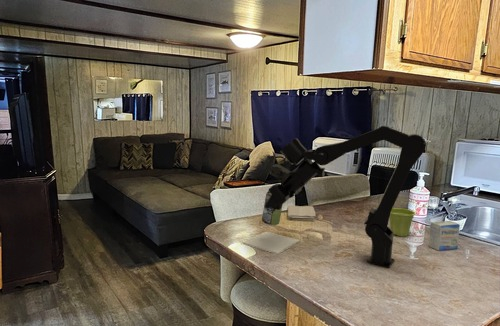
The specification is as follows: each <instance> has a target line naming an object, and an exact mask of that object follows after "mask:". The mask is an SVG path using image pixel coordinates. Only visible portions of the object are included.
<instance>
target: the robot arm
mask: <svg viewBox="0 0 500 326" xmlns="http://www.w3.org/2000/svg"><path fill="white" fill-rule="evenodd" d="M381 141H385V142H388V143H390V144H393V145H395V146H397V147H399V148H400V152H399V157H398V161H397V164H396V167H395V168H394V171H393V173H392V176H391V177H390V180H389V182H388V184H387V186H386V188H385V191H384V193H383V195H382V198H381V199H380V202H379V204H378V205H377V207H376V208H374V207H370V208H369V212H368V215H367V216H365V220H364V221H363V222H364V224H363V225H365V227H364V231H365V233H366V235H367V236H368V237H369V238H370V239H371V248H370V249H371V251H370V257H368V259H366V262H367V263H369V264H373V265H377V266H381V267H384V268H391V266H392V265H393V263H394V262H395V261H396V260H395V258H392V255H393V243H394V235H393V232H392V231H391V228H390V227H389V226H388V225H389V222H390V213H391V210H392V208H394V207H395V204H396V202H397V199H398V197H399V196H400V192H401V191H402V189H403V186H404V183H405V182H406V180H407V178H408V175H410V174H409V173H410V172H411V169H412V168H413V167H414V165H415V164H416V163H417V162H418V160H419V159H420V158H421V157H422V155H423V154H424V152H425V150H426V149H427V142H426V140H425V138H423V136H422V135H420V134H417V133H411V134H407V133H405V132H402V131H401V130H397V129H394V128H391V127H390V126H388V125H382V126H379V127H378V128H375V129H372V130H370V131H367V132H365V133H362V134H359V135H357V136H354V137H351V138H350V139H347V140H345V141H341V142H336V143H335V142H334V143H329V144H325V145H321V146H318V147H317V148H315V149H307V148H306V147H305V146H304V145H303V144H302V143H301V141H300V139H298V138H294V139H293V140H292V141H290V142H289V143H288V144H286V145H284V146H283V148H281V150H280V153H281V154H282V155H283V156H284V158H285V159H286V160H287V161H288V162H289V163H290V165H295V166H297V165H298V166H297V167H295V169H293V170H292V171H291V170H289V169H287V168H286V167H285V166H282V165H280V164H278V163H275V164H274V165H272V167H271V168H270V170H269V175H270V176H273V177H275V178H276V179H278V180H279V183H274V184H273V185H272V186H270V187H269V189H267V190H269V192H270V193H271V194H272V195H271V197H270V198H269V200H268V202H267V203H266V205H265V207H266V208H270V207H273V206H276V205H280V204H281V205H282V204H285V203H287V201H288V200H290V199H291V198H293V197H295V195H298V194H299V193H300V192H301V191H302V190H303V189H302V188H304V186H305V185H307V184H308V183H309V182H310V181H311V180H312V179H313V178H314V177H315V176H316V175H318V176H319V177H320V178H324V177H325V175H326V173H325V171H326V168H325V167H323V166H326V165H328V164H330V163H332V162H333V161H335V160H337V159H339V158H340V157H343V156H344V155H345V154H349V153H351V152H354V151H356V150H359V149H362V148H364V147H368V146H370V145H373V144H376V143H378V142H381ZM301 162H302V163H301ZM321 166H322V167H321ZM282 206H283V205H282Z"/></svg>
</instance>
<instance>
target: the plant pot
mask: <svg viewBox="0 0 500 326" xmlns="http://www.w3.org/2000/svg"><path fill="white" fill-rule="evenodd" d="M414 216H416V212H415V211H413V210H411V209H407V208H401V207H396V208H395V207H393V208H392V210H391V213H390V217H389V225H390V227H389V228H390V229H391V231H392V232H393V236H394V235H396V236H397V237H407V236H409V234H410V231H411V226H412V221H413V219H414Z"/></svg>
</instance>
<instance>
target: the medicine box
mask: <svg viewBox="0 0 500 326" xmlns="http://www.w3.org/2000/svg"><path fill="white" fill-rule="evenodd" d="M460 226H461V224H460V223H458V222H455V221H453V220H452V221H451V220H445V221H434V222H432V221H431V222H430V226H429V237H428V238H429V239H428V247H429V248H432V249H434V250H436V251H438V252H441V251H442V252H443V251H451V250H457V249H458V246H459V236H460V228H461V227H460Z"/></svg>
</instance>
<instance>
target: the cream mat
mask: <svg viewBox="0 0 500 326" xmlns="http://www.w3.org/2000/svg"><path fill="white" fill-rule="evenodd" d="M299 243H300V240H299V239H296V238H292V237H288V236H284V235H281V234H278V233H273V232H269V231H264V232H262V233H260V234H258V235H256V236H255V235H254V236H253V237H251V238H249V239H247V240H244V241H243V242H242V244H243V245H246V246H250V247H252V248H255V249H258V250H263V251H266V252H270V253H272V254H275V255H280V253H283V252H285V251H286V250H287V249H289V248H291V247H293V246H296V245H297V244H299Z"/></svg>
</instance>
